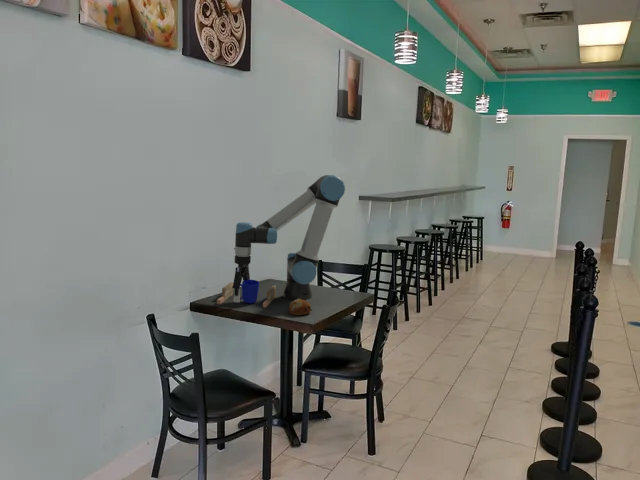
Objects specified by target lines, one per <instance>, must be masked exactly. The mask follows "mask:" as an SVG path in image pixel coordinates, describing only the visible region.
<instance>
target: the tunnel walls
mask: <svg viewBox="0 0 640 480" xmlns="http://www.w3.org/2000/svg"><path fill="white" fill-rule="evenodd" d="M233 283H234V282H229V283H228V284H226V285H225V286H223V287H222V288H221V297H224V301H226V300H228V299H229V298H230V297H232V296H234V289H233V288H232V287H233ZM276 296H277V285H275V284H274V285H272V286H271V287H270V288H269V289H268V290H267V291H266V300H269V304H271V302H273V300H274V299H275V298H276Z"/></svg>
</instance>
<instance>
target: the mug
mask: <svg viewBox="0 0 640 480" xmlns="http://www.w3.org/2000/svg"><path fill="white" fill-rule="evenodd" d="M240 287H241V296H240V300H242V301H243V303H245V304H255V303H256V302H257V300H258V294H259V288H260V281H258V280H256V279H250V280H244V281H243V280H242V281H241V284H240Z"/></svg>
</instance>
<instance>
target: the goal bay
mask: <svg viewBox="0 0 640 480" xmlns="http://www.w3.org/2000/svg"><path fill="white" fill-rule="evenodd" d="M224 302H225V300H224V297H222V296H220V297H219V298H217V299H216V305H221V304H222V303H224ZM269 305H270V303H269V300H267V299H266V300H264V302H263V303H262V308H268V306H269Z"/></svg>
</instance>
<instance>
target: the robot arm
mask: <svg viewBox="0 0 640 480" xmlns="http://www.w3.org/2000/svg"><path fill="white" fill-rule="evenodd" d="M345 191H346V186H345V183H344V180H343V179H341V178H340V177H338V176H337V175H334V174H325V175H322V176H320V177H319V178H318V179H317V180H316V181H315V182H313V183H312V184H311V185H310V186H308V187H307V189H306V191H305V192H303V193H302V194H301V195H299V196H298V197H296V198H295V199H294V200H293V201H291V202H290V203H288V204H287V205H286V206H284V207H283V208H282V209H280V210H279V211H278V212H276V213H275V214H273V215H272V216H271V217H269V218H268V219H267V220H265V221H264V222H262V223H260V224H258V225H257V226H256V227H255V226H253V224H252V223H251V222H241V221H240V222H238V223H236V226H235V237H234V238H235V240H234V242H235V244H234V246H235V247H234V248H233V250H234V254H235V255H234V263H235V264H237V267H235V270H234V272H235V273H234V278H233V282H232V283H233V287H232V288H233V303H240V301H241V299H240V298H241V286H240V284H242V282H243V281H244V280H251V278H250V269H249V268H250V267H249V264H251V259H252V258H251V257H252V256H251V255H252V244H266V245H273V244H274V245H275V244H276V243H277V241H278V231H280V230H281V229H282V228H284V227H285V226H287V224H289V223H291V222H292V221H293V220H295V219H297V218H298V217H299V216H301V215H302V214H303V213H304V212H306V211H308V209H310V208H311V207H312V206H314V205H315V206H314V209H313V213H312V214H311V217H310V221H309V224H308V227H307V229H306V232H305V235H304V239H303V241H302V245H301V248H300V249H299V250H298V251H296V252H289V253H287V258H286V259H287V260H286V262H287V264H286V265H287V266H286V283H285V285H284V289H283V292H282V297H283V299H286V300H289V301H290V300H291V301H294V300H296V299H302V300H305V301H307V299H308V300H310V298H311V299H312V298H313V292H312V288H311V283H312V282H313V281H314V280H315V279H316V277H317V274H318V273H317V267H318V265H319V261H320V258H319V257H318V254H319V252H320V248H321V246H322V244H323V243H322V242H323V240H324V237H325V234H326V231H327V228H328V225H329V222H330V220H331V216H332V213H333V210H334V209H335V208H337V207H338V205H339V202H340V199H342V197H343V196H344V195H345Z"/></svg>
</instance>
